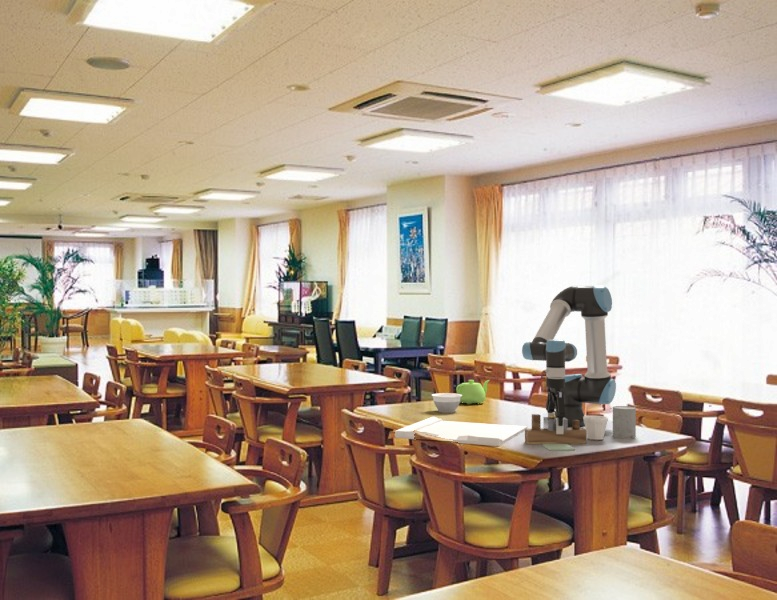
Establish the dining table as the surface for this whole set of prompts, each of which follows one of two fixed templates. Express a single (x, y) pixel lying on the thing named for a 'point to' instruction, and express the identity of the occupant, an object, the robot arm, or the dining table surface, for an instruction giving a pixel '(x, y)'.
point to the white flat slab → (462, 431)
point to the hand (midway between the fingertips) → (555, 431)
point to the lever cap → (553, 423)
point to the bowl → (446, 401)
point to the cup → (595, 426)
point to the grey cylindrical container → (624, 422)
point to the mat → (557, 447)
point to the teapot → (472, 392)
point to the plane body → (554, 434)
